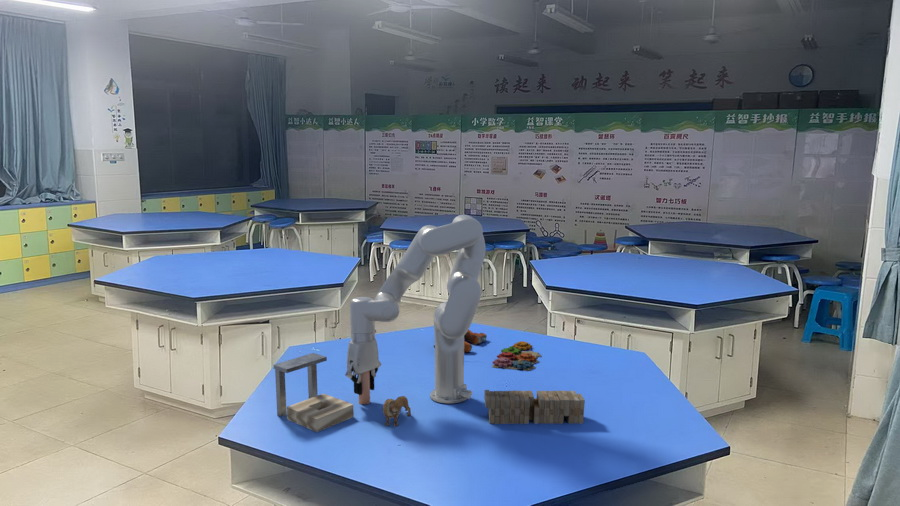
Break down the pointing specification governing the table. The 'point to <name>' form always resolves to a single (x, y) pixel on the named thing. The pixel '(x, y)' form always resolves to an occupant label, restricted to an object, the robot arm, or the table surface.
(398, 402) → the lion figurine
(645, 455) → the table surface
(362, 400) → the peg
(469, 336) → the camel toy
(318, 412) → the socket block
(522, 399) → the block tower
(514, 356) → the gear puzzle
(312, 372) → the grey piece
